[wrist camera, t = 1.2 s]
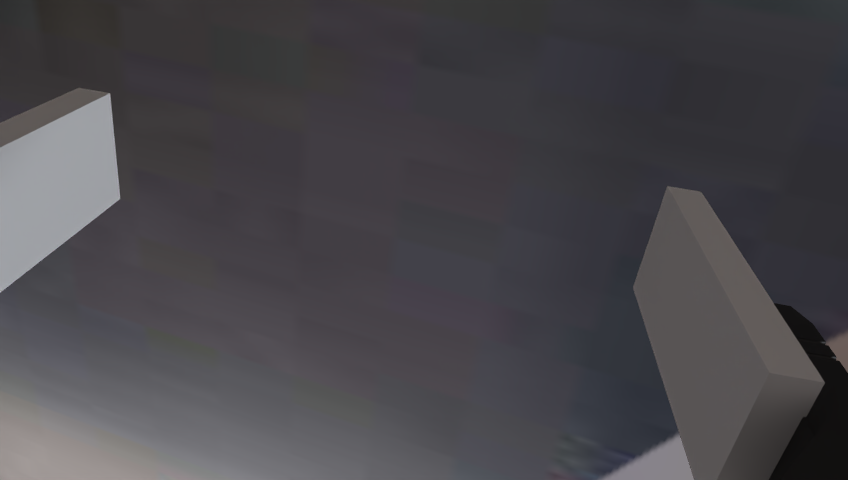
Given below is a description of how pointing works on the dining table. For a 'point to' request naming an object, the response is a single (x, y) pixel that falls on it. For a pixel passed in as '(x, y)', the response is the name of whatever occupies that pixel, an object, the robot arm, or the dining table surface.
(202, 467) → the dining table surface
